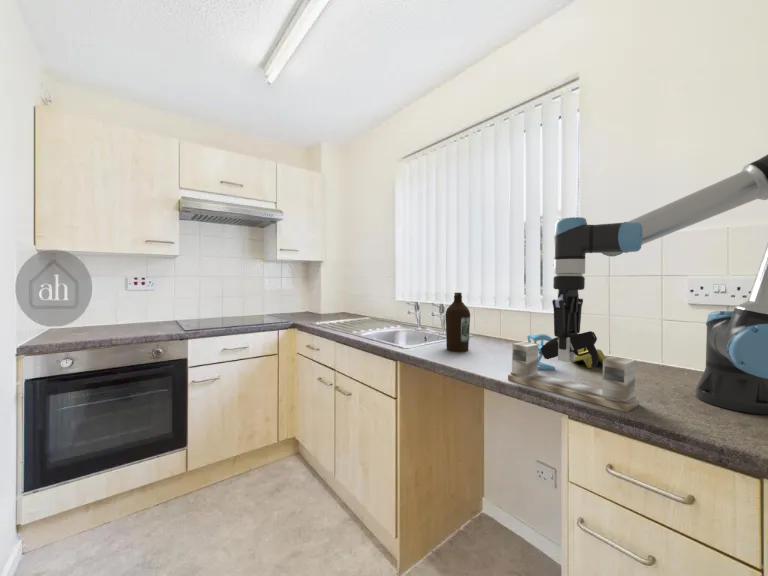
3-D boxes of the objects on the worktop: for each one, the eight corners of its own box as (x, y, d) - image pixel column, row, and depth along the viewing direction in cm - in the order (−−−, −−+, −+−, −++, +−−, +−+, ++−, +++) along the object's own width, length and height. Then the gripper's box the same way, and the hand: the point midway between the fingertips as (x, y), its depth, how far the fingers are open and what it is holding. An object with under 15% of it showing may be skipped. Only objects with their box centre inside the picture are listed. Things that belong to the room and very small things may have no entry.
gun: (553, 377, 97) (538, 344, 100) (610, 361, 85) (591, 325, 89) (548, 378, 95) (533, 345, 99) (606, 363, 84) (587, 325, 87)
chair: (543, 363, 123) (543, 331, 122) (555, 369, 114) (555, 334, 114) (522, 363, 123) (523, 331, 122) (533, 369, 114) (533, 334, 114)
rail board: (639, 404, 83) (640, 360, 82) (627, 412, 78) (628, 365, 78) (522, 375, 107) (522, 341, 107) (507, 379, 103) (508, 343, 102)
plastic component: (563, 350, 134) (589, 341, 132) (572, 368, 133) (598, 359, 130) (573, 358, 116) (603, 347, 113) (584, 378, 114) (614, 367, 112)
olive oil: (440, 349, 146) (440, 292, 146) (453, 346, 154) (454, 291, 153) (461, 353, 139) (462, 293, 138) (474, 349, 147) (475, 292, 146)
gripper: (567, 275, 99) (565, 353, 100) (541, 274, 90) (538, 361, 91) (595, 275, 94) (593, 358, 94) (570, 274, 84) (567, 367, 85)
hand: (566, 359), depth 92 cm, fingers closed on gun, 3 cm apart
